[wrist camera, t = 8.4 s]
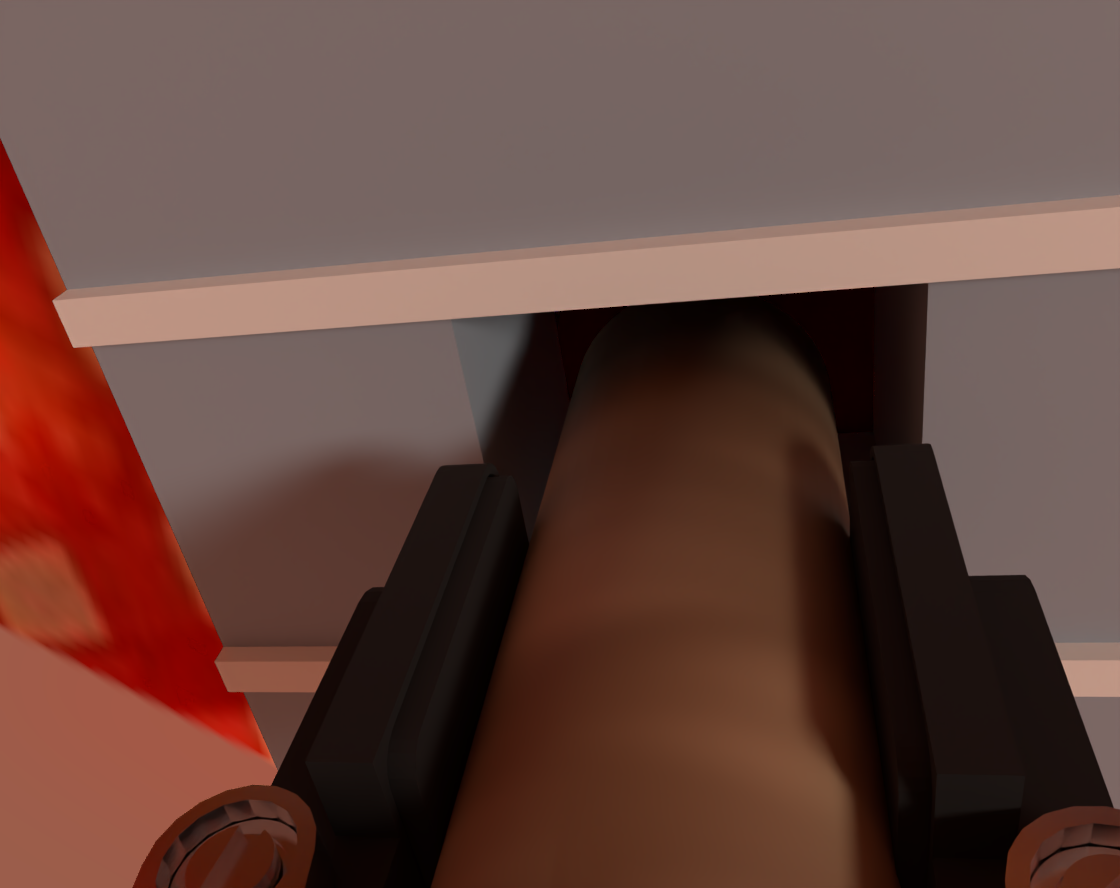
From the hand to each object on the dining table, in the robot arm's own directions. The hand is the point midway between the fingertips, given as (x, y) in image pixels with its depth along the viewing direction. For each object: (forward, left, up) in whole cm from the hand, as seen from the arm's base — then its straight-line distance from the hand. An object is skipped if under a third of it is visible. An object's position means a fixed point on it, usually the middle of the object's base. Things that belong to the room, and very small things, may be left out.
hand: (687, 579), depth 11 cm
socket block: (0, 0, -7) cm, 7 cm away
